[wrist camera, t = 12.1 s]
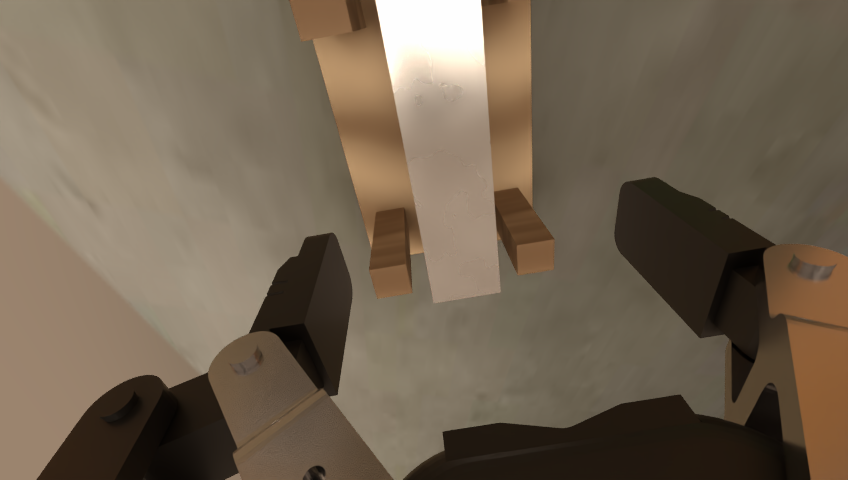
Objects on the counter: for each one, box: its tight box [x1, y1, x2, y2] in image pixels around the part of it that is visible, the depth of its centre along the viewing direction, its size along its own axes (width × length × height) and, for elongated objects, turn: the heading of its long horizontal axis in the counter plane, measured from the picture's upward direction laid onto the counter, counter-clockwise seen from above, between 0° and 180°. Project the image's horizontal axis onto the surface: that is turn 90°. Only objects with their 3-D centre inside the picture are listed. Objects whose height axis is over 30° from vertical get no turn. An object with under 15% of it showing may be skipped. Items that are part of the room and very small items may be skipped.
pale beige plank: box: [376, 0, 501, 303], centre depth 20 cm, size 18×4×6 cm, turn 9°
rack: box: [289, 0, 554, 299], centre depth 21 cm, size 19×12×8 cm, turn 9°
